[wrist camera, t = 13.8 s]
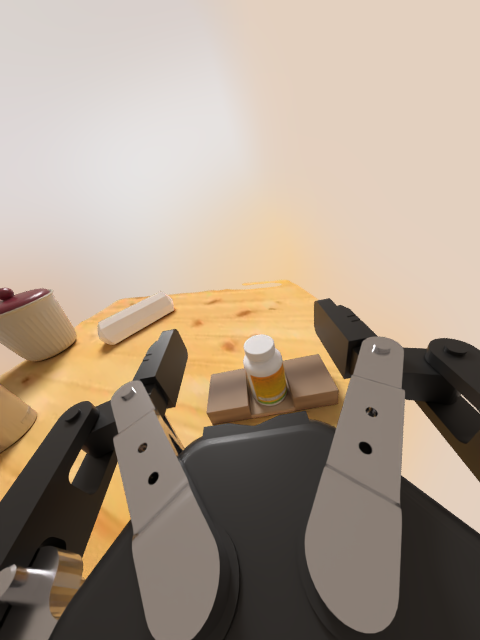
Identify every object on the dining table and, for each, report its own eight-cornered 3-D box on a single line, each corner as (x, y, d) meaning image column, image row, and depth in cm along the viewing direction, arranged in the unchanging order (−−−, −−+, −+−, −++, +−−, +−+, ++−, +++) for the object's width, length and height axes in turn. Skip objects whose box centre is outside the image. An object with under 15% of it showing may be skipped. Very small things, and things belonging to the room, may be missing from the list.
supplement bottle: (295, 391, 30) (288, 341, 25) (268, 414, 28) (254, 365, 23) (271, 372, 34) (261, 326, 29) (246, 391, 32) (230, 345, 27)
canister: (61, 363, 54) (-6, 295, 43) (3, 376, 56) (-75, 313, 45) (98, 327, 70) (56, 270, 59) (52, 337, 71) (2, 284, 60)
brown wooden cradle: (337, 403, 27) (338, 389, 26) (212, 424, 29) (206, 413, 28) (319, 367, 33) (318, 354, 32) (216, 386, 35) (211, 374, 34)
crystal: (163, 294, 72) (93, 330, 59) (167, 287, 66) (89, 326, 53) (175, 311, 72) (108, 350, 60) (180, 306, 66) (106, 348, 54)
